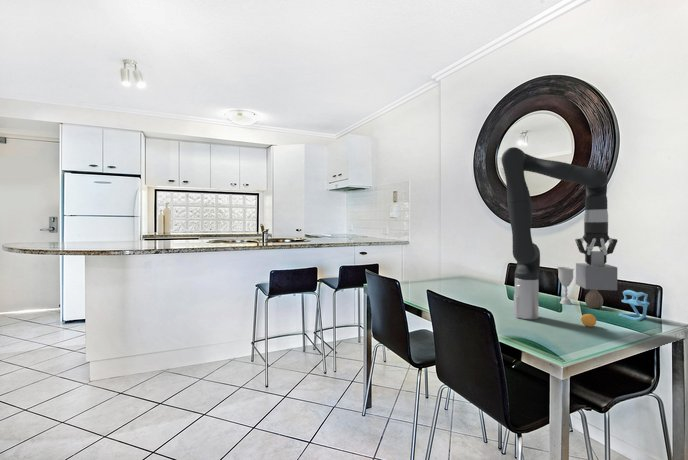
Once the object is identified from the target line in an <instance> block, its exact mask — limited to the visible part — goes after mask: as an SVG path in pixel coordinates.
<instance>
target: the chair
mask: <svg viewBox="0 0 688 460" xmlns="http://www.w3.org/2000/svg"><path fill="white" fill-rule="evenodd" d="M622 295H623V296H624V297H623V299H621V303H624V304H628V305H630V307H631V308H632V309H633V311H634V313H618V316H619V317H620V318H621V317H622V318H625V319H628V320H631V321H637V322H639V321H641V320H644V319H646V318H647V311H648V307H649V305H650V302H648V300H647V299H648V295H649V294H647V293H645V292H642V291H639V292H638V291H637V292H636V291H635V290H631V289H626V290H623V291H622ZM627 296H631V298H630V299H628V298H627ZM643 296H644V298H643V300H639V298H640V297H643ZM636 306H638V307H639V306H640V307H642V315H641V314H640V312H639V311H638V309H637V307H636Z"/></svg>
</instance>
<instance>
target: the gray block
mask: <svg viewBox="0 0 688 460" xmlns="http://www.w3.org/2000/svg"><path fill="white" fill-rule="evenodd" d="M590 255H591V264H587V263H586V262H580V263H579V262H577V263H575V285H577V286H579V287H581V288H583V289H584V290H591V289H593V290H597V291H598V290H599V291H618V266H614V265H611V264H607V263H605V265H604V252H602V251H600V250H592V251H591V254H590Z"/></svg>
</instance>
